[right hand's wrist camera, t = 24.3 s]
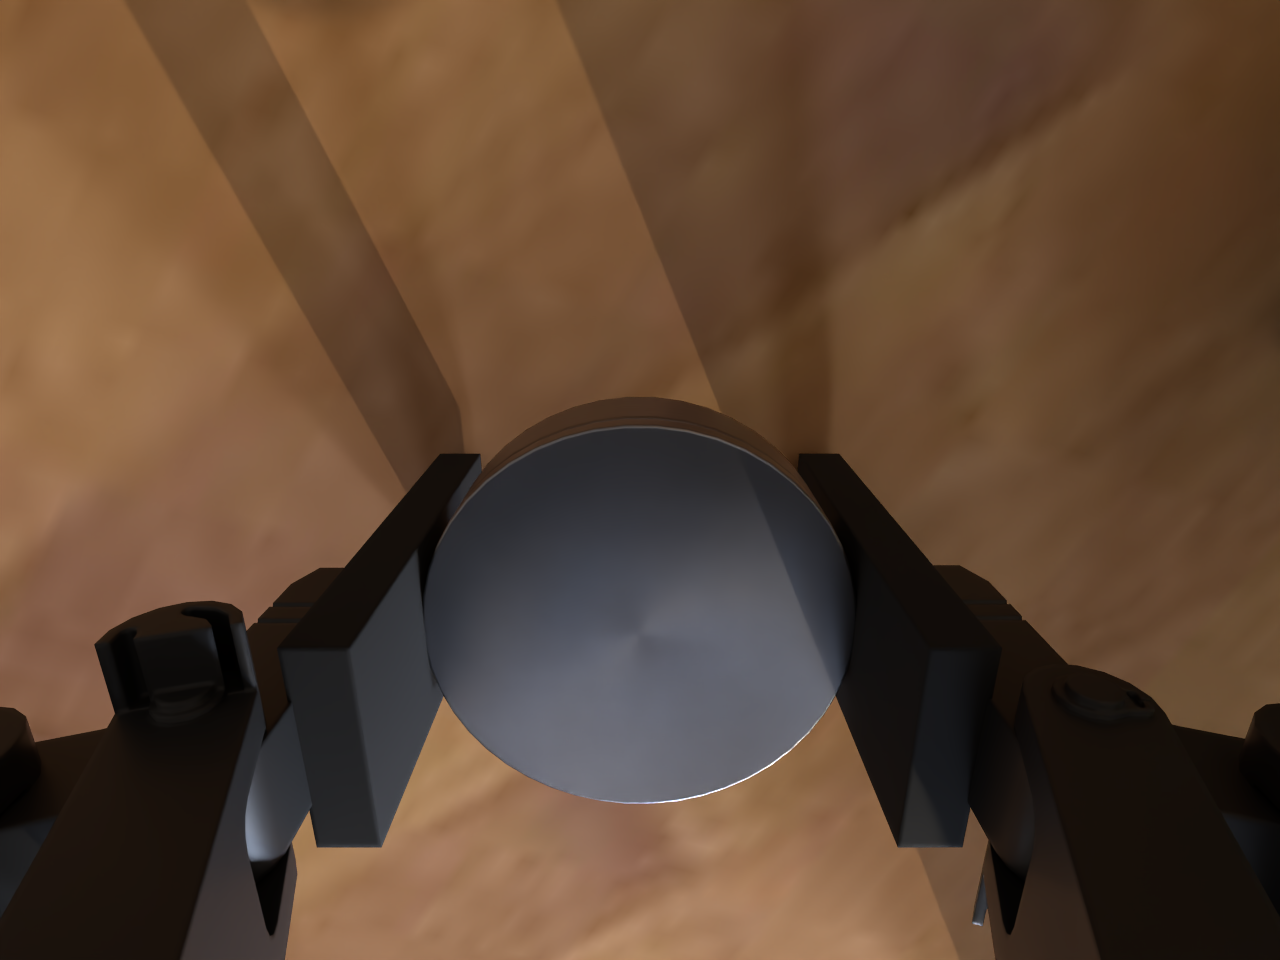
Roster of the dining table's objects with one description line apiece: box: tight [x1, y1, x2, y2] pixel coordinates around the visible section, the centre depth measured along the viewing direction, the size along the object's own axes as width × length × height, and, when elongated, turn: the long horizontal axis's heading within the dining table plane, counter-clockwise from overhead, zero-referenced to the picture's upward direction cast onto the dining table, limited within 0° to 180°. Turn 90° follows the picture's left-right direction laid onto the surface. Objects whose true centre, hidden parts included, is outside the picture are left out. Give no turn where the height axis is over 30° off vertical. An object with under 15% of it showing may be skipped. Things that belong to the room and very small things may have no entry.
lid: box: [423, 397, 856, 804], centre depth 11 cm, size 6×6×2 cm
